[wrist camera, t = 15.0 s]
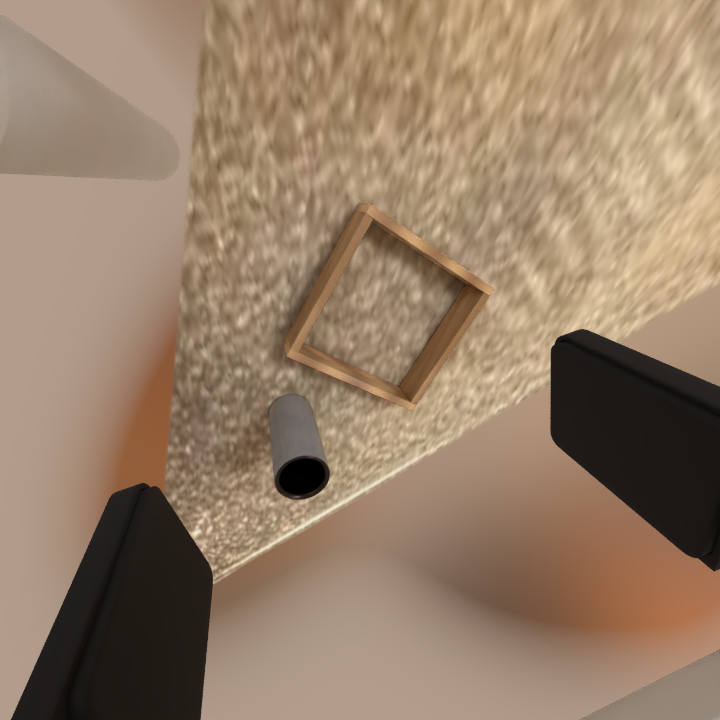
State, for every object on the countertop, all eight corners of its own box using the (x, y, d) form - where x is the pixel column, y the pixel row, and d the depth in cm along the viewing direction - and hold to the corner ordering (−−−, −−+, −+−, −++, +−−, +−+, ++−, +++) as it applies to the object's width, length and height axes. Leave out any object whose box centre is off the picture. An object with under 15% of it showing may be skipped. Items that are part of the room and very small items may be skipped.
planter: (292, 438, 42) (304, 508, 33) (259, 416, 40) (262, 485, 30) (320, 408, 41) (341, 472, 32) (288, 385, 39) (300, 446, 30)
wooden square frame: (282, 342, 37) (286, 356, 34) (359, 202, 34) (370, 204, 31) (400, 395, 43) (412, 411, 40) (475, 281, 40) (494, 289, 37)
